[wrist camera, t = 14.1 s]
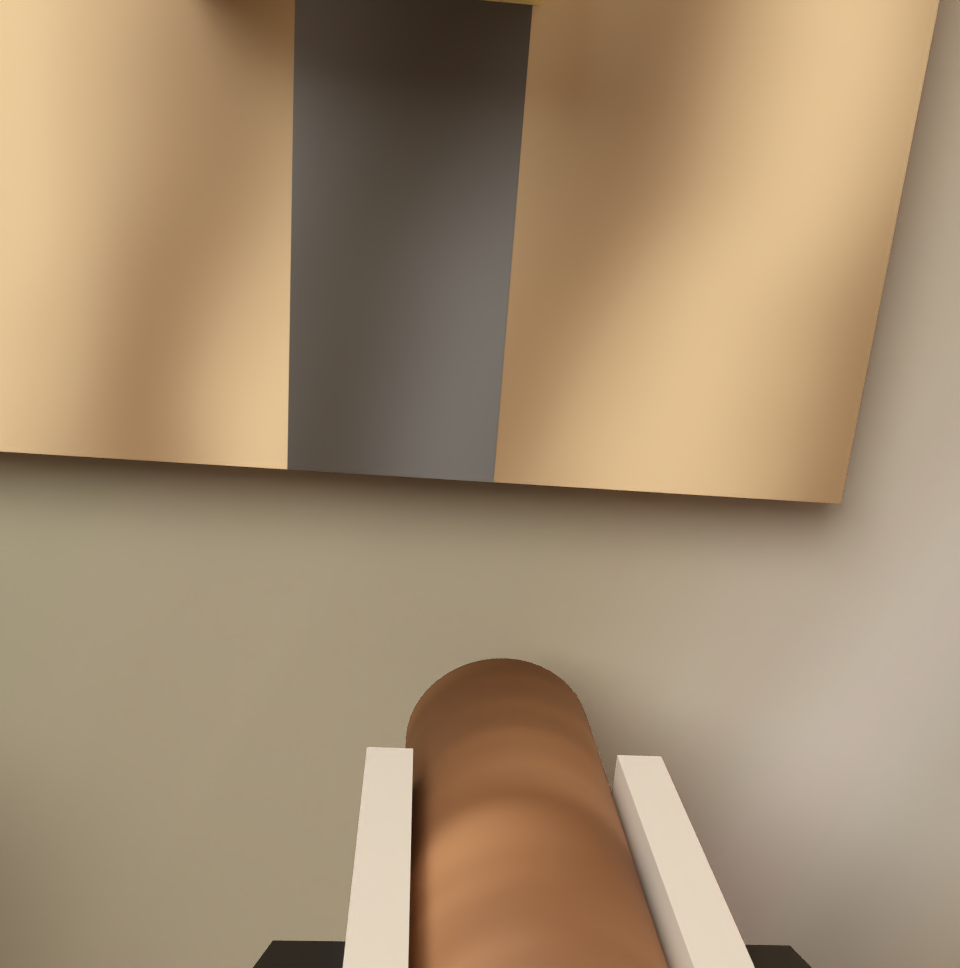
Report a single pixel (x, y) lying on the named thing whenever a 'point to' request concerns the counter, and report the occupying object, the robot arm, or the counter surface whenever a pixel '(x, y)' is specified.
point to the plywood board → (454, 235)
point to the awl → (517, 831)
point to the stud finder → (522, 1)
